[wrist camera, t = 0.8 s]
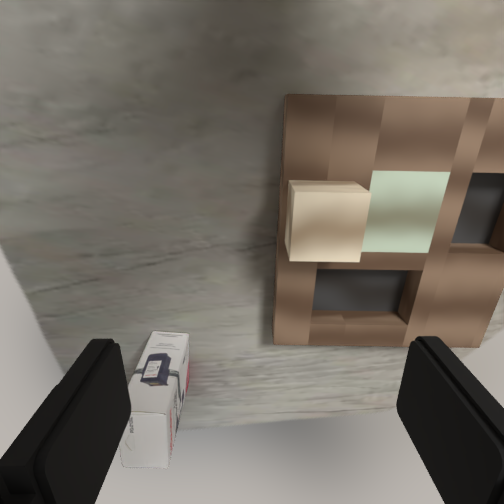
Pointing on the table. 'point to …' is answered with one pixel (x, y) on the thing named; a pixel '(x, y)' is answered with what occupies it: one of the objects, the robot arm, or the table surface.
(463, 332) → the board
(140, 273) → the table surface
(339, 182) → the birch block
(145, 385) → the ink box
